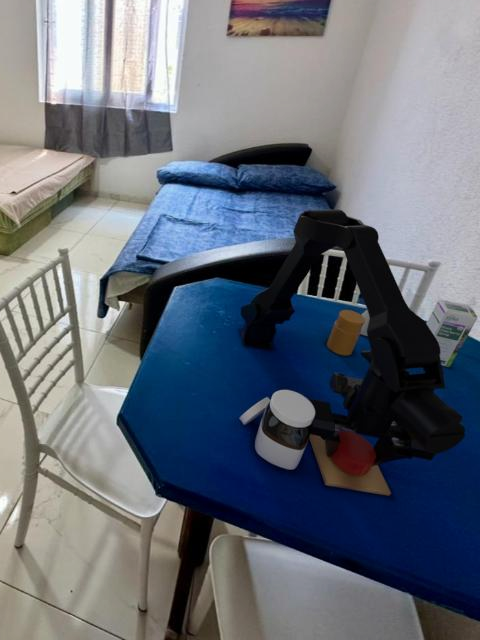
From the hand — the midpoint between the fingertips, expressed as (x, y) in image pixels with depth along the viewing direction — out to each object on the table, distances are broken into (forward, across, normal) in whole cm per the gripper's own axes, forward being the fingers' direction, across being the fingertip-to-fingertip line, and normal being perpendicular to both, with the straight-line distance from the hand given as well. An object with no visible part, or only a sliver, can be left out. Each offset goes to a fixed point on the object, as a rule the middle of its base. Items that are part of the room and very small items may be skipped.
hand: (348, 459), depth 71 cm
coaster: (+1, 0, 0) cm, 1 cm away
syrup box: (+1, -28, -37) cm, 46 cm away
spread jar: (+1, +13, -1) cm, 13 cm away
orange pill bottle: (+1, -7, -34) cm, 35 cm away
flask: (+1, -16, -44) cm, 47 cm away
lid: (0, 0, 0) cm, 0 cm away
